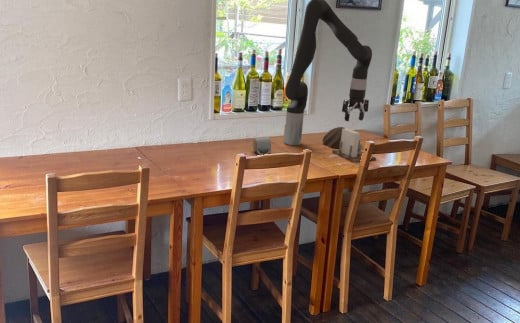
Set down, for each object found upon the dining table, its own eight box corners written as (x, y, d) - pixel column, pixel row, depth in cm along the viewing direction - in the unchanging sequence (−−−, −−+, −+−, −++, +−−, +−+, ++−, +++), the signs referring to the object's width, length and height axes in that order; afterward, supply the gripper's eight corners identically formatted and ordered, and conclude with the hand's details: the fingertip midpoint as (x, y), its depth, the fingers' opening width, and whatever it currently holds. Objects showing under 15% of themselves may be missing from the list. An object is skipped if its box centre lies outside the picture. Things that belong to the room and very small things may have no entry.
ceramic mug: (251, 150, 245) (252, 135, 242) (267, 150, 247) (268, 135, 244) (256, 156, 235) (257, 141, 232) (272, 156, 237) (273, 141, 234)
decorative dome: (318, 139, 274) (319, 122, 271) (351, 140, 277) (353, 123, 274) (326, 149, 256) (328, 131, 253) (362, 150, 259) (365, 132, 256)
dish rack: (331, 152, 250) (333, 139, 248) (353, 150, 256) (355, 137, 254) (353, 162, 235) (355, 148, 233) (376, 160, 241) (378, 146, 239)
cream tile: (339, 151, 248) (342, 128, 245) (344, 150, 250) (347, 128, 246) (351, 156, 240) (354, 133, 236) (356, 156, 241) (359, 133, 238)
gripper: (364, 86, 240) (360, 118, 245) (341, 86, 234) (337, 119, 239) (374, 89, 234) (369, 121, 239) (351, 89, 227) (346, 123, 232)
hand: (353, 120), depth 239 cm, fingers open, 8 cm apart
